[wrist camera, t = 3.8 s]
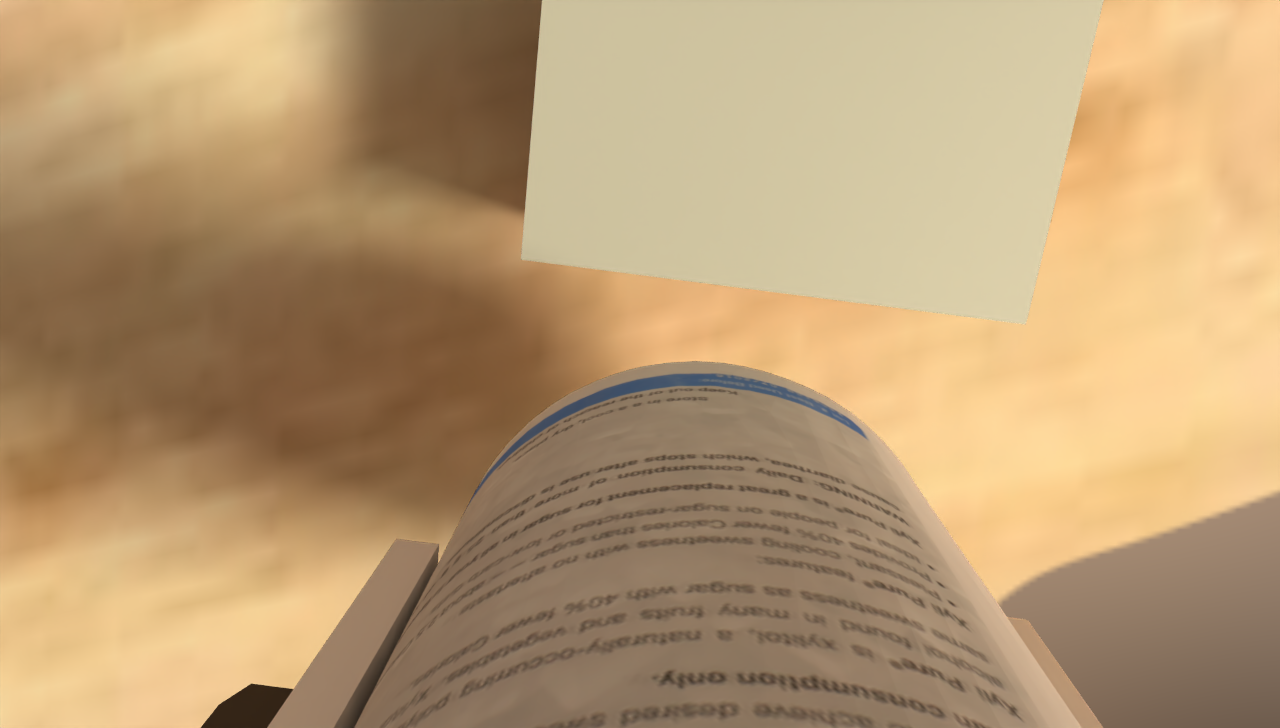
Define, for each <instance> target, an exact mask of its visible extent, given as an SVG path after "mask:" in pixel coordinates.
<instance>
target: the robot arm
mask: <svg viewBox="0 0 1280 728" xmlns="http://www.w3.org/2000/svg"><path fill="white" fill-rule="evenodd" d="M438 552H439V544H433V543H425V542H417V541H409V540H401V539H396V540H395V542H394V543H393V545H392V546H391V548H390V549H389V551H388V552H387V553H386V555H385V556H384V558H383V559H382V561H381V562H380V564H379V565H378V567H377V568H376V570H375V571H374V572H373V574H372V575H371V577H370V578H369V580H368V581H367V583H366V584H365V586H364V587H363V588H362V590H361V591H360V593H359V594H358V596H357V597H356V599H355V600H354V602H353V603H352V605H351V606H350V607H349V609H348V610H347V612H346V613H345V615H344V616H343V618H342V619H341V621H340V622H339V624H338V625H337V626H336V628H335V629H334V631H333V632H332V634H331V635H330V637H329V638H328V640H327V641H326V643H325V644H324V645H323V647H322V648H321V650H320V651H319V653H318V654H317V656H316V657H315V659H314V660H313V662H312V663H311V664H310V666H309V667H308V669H307V670H306V672H305V673H304V675H303V676H302V678H301V679H300V681H299V682H298V683H297V685H296V686H295V688H294V689H288V688H280V687H272V686H265V685H257V684H250V685H249V686H247V687H246V688H244V689H242V690H241V691H239V692H238V693H236V694H235V695H233V696H232V697H230V698H229V699H227V700H226V701H224V702H222V703H221V704H219V705H218V707H217V708H216V709H215V710H214V712H213V713H212V714H211V715H210V717H209V718H208V719H207V720H206V722H205V723H204V724H203V725H202V727H201V728H354V727H355V725H356V723H357V721H358V719H359V717H360V716H361V714H362V712H363V710H364V708H365V706H366V704H367V702H368V700H369V698H370V696H371V694H372V692H373V690H374V688H375V686H376V684H377V682H378V680H379V678H380V676H381V674H382V672H383V670H384V668H385V666H386V664H387V662H388V661H389V659H390V657H391V655H392V653H393V651H394V649H395V647H396V645H397V643H398V641H399V639H400V637H401V635H402V633H403V631H404V629H405V627H406V625H407V623H408V621H409V619H410V617H411V615H412V613H413V611H414V609H415V608H416V606H417V604H418V602H419V600H420V598H421V596H422V594H423V592H424V590H425V588H426V586H427V584H428V582H429V580H430V578H431V576H432V574H433V572H434V570H435V569H436V567H437V565H438ZM1007 618H1008V620H1009V621H1010V623H1011V624H1012V626H1013V627H1014V629H1015V630H1016V632H1017V633H1018V634H1019V636H1020V637H1021V639H1022V640H1023V642H1024V643H1025V645H1026V646H1027V648H1028V649H1029V651H1030V652H1031V654H1032V655H1033V657H1034V658H1035V660H1036V661H1037V663H1038V664H1039V666H1040V667H1041V669H1042V670H1043V671H1044V673H1045V674H1046V676H1047V677H1048V679H1049V680H1050V682H1051V683H1052V685H1053V686H1054V688H1055V689H1056V691H1057V692H1058V694H1059V695H1060V697H1061V698H1062V699H1063V701H1064V702H1065V704H1066V705H1067V707H1068V708H1069V710H1070V711H1071V713H1072V714H1073V716H1074V717H1075V719H1076V720H1077V721H1078V723H1079V724H1080V726H1081V727H1082V728H1103V727H1102V725H1101V724H1100V722H1099V721H1098V719H1097V718H1096V717H1095V715H1094V714H1093V712H1092V711H1091V709H1090V708H1089V707H1088V705H1087V704H1086V702H1085V701H1084V700H1083V698H1082V697H1081V695H1080V694H1079V692H1078V691H1077V690H1076V688H1075V687H1074V685H1073V684H1072V683H1071V681H1070V680H1069V678H1068V677H1067V675H1066V674H1065V672H1064V671H1063V670H1062V668H1061V667H1060V665H1059V664H1058V662H1057V661H1056V660H1055V658H1054V657H1053V655H1052V654H1051V652H1050V651H1049V650H1048V648H1047V647H1046V645H1045V644H1044V643H1043V641H1042V640H1041V638H1040V637H1039V635H1038V634H1037V633H1036V631H1035V630H1034V628H1033V627H1032V625H1031V624H1030V623H1029V621H1028V620H1027V619H1019V618H1012V617H1007Z"/></svg>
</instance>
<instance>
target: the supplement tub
mask: <svg viewBox="0 0 1280 728" xmlns="http://www.w3.org/2000/svg"><path fill="white" fill-rule="evenodd" d="M354 728H1082V727H1081V726H1080V724H1079V723H1078V721H1077V720H1076V719H1075V717H1074V716H1073V714H1072V713H1071V711H1070V710H1069V708H1068V707H1067V705H1066V704H1065V702H1064V701H1063V699H1062V698H1061V697H1060V695H1059V694H1058V692H1057V691H1056V689H1055V688H1054V686H1053V685H1052V683H1051V682H1050V680H1049V679H1048V677H1047V676H1046V674H1045V673H1044V671H1043V670H1042V669H1041V667H1040V666H1039V664H1038V663H1037V661H1036V660H1035V658H1034V657H1033V655H1032V654H1031V652H1030V651H1029V649H1028V648H1027V646H1026V645H1025V643H1024V642H1023V640H1022V639H1021V637H1020V636H1019V634H1018V633H1017V632H1016V630H1015V629H1014V627H1013V626H1012V624H1011V623H1010V621H1009V620H1008V618H1007V617H1006V615H1005V614H1004V612H1003V611H1002V609H1001V608H1000V606H999V605H998V603H997V602H996V600H995V599H994V598H993V596H992V595H991V593H990V592H989V590H988V589H987V587H986V586H985V584H984V583H983V582H982V580H981V579H980V577H979V576H978V574H977V573H976V571H975V570H974V569H973V567H972V566H971V564H970V563H969V561H968V560H967V558H966V557H965V555H964V554H963V553H962V551H961V550H960V548H959V547H958V545H957V544H956V542H955V541H954V540H953V538H952V537H951V535H950V534H949V532H948V531H947V529H946V528H945V526H944V525H943V524H942V522H941V521H940V519H939V518H938V516H937V515H936V513H935V512H934V511H933V509H932V508H931V506H930V505H929V503H928V502H927V500H926V499H925V497H924V496H923V494H922V493H921V491H920V490H919V488H918V487H917V485H916V484H915V482H914V481H913V479H912V478H911V476H910V475H909V473H908V472H907V470H906V469H905V467H904V466H903V464H902V463H901V462H900V460H899V459H898V458H897V457H896V455H895V454H894V453H893V452H892V451H891V449H890V448H889V447H888V446H887V445H886V444H885V442H884V441H883V440H881V439H880V438H879V437H878V436H877V435H876V434H875V433H874V432H873V431H872V430H871V429H870V428H869V427H868V426H867V425H866V424H864V423H863V422H862V421H861V420H859V419H858V418H857V417H856V416H855V415H853V414H852V413H851V412H850V411H848V410H847V409H845V408H843V407H842V406H840V405H839V404H837V403H836V402H834V401H833V400H831V399H829V398H828V397H826V396H824V395H822V394H820V393H818V392H816V391H814V390H812V389H810V388H808V387H805V386H803V385H800V384H798V383H796V382H793V381H791V380H788V379H785V378H782V377H780V376H777V375H774V374H771V373H768V372H765V371H761V370H757V369H753V368H748V367H744V366H738V365H732V364H726V363H715V362H700V361H692V362H674V363H663V364H656V365H649V366H643V367H639V368H635V369H631V370H626V371H623V372H620V373H617V374H614V375H610V376H608V377H605V378H603V379H600V380H597V381H595V382H593V383H591V384H588V385H586V386H584V387H582V388H580V389H578V390H576V391H573V392H571V393H570V394H568V395H566V396H565V397H563V398H561V399H560V400H558V401H557V402H555V403H553V404H552V405H551V406H549V407H548V408H547V409H545V410H544V411H543V412H541V413H540V414H539V415H537V416H536V417H535V418H533V419H532V420H531V421H530V422H529V423H528V424H527V425H526V426H525V427H524V428H523V429H522V430H521V431H520V432H519V433H518V434H517V435H516V436H515V437H514V438H513V439H512V440H511V441H509V443H508V444H507V445H506V446H505V448H504V449H503V450H502V451H501V452H500V454H499V455H498V456H497V457H496V459H495V460H494V461H493V463H492V464H491V466H490V467H489V469H488V470H487V472H486V473H485V475H484V477H483V478H482V480H481V482H480V484H479V486H478V488H477V489H476V491H475V493H474V495H473V497H472V499H471V501H470V502H469V504H468V506H467V508H466V510H465V512H464V514H463V516H462V518H461V520H460V522H459V524H458V526H457V528H456V530H455V532H454V534H453V536H452V538H451V540H450V542H449V544H448V545H447V547H446V549H445V551H444V553H443V555H442V557H441V559H440V561H439V563H438V565H437V567H436V569H435V570H434V572H433V574H432V576H431V578H430V580H429V582H428V584H427V586H426V588H425V590H424V592H423V594H422V596H421V598H420V600H419V602H418V604H417V606H416V608H415V609H414V611H413V613H412V615H411V617H410V619H409V621H408V623H407V625H406V627H405V629H404V631H403V633H402V635H401V637H400V639H399V641H398V643H397V645H396V647H395V649H394V651H393V653H392V655H391V657H390V659H389V661H388V662H387V664H386V666H385V668H384V670H383V672H382V674H381V676H380V678H379V680H378V682H377V684H376V686H375V688H374V690H373V692H372V694H371V696H370V698H369V700H368V702H367V704H366V706H365V708H364V710H363V712H362V714H361V716H360V717H359V719H358V721H357V723H356V725H355V727H354Z"/></svg>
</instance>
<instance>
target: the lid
mask: <svg viewBox="0 0 1280 728" xmlns="http://www.w3.org/2000/svg"><path fill="white" fill-rule="evenodd" d="M1103 1H1104V0H542V7H541V19H540V32H539V44H538V56H537V68H536V81H535V93H534V105H533V117H532V130H531V142H530V154H529V166H528V179H527V191H526V203H525V215H524V228H523V240H522V252H521V260H527V261H535V262H543V263H551V264H558V265H566V266H574V267H582V268H590V269H597V270H605V271H613V272H621V273H629V274H636V275H644V276H652V277H660V278H668V279H675V280H683V281H691V282H699V283H707V284H714V285H722V286H730V287H738V288H746V289H753V290H761V291H769V292H777V293H785V294H792V295H800V296H808V297H816V298H824V299H831V300H839V301H847V302H855V303H863V304H870V305H878V306H886V307H894V308H902V309H909V310H917V311H925V312H933V313H941V314H948V315H956V316H964V317H972V318H980V319H987V320H995V321H1003V322H1011V323H1019V324H1026V322H1027V318H1028V314H1029V310H1030V305H1031V301H1032V297H1033V293H1034V289H1035V284H1036V280H1037V276H1038V272H1039V268H1040V264H1041V259H1042V255H1043V251H1044V247H1045V243H1046V239H1047V234H1048V230H1049V226H1050V222H1051V218H1052V214H1053V209H1054V205H1055V201H1056V197H1057V193H1058V189H1059V184H1060V180H1061V176H1062V172H1063V168H1064V164H1065V159H1066V155H1067V151H1068V147H1069V143H1070V139H1071V134H1072V130H1073V126H1074V122H1075V118H1076V114H1077V109H1078V105H1079V101H1080V97H1081V93H1082V89H1083V84H1084V80H1085V76H1086V72H1087V68H1088V64H1089V59H1090V55H1091V51H1092V47H1093V43H1094V39H1095V34H1096V30H1097V26H1098V22H1099V18H1100V14H1101V9H1102V5H1103Z"/></svg>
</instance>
